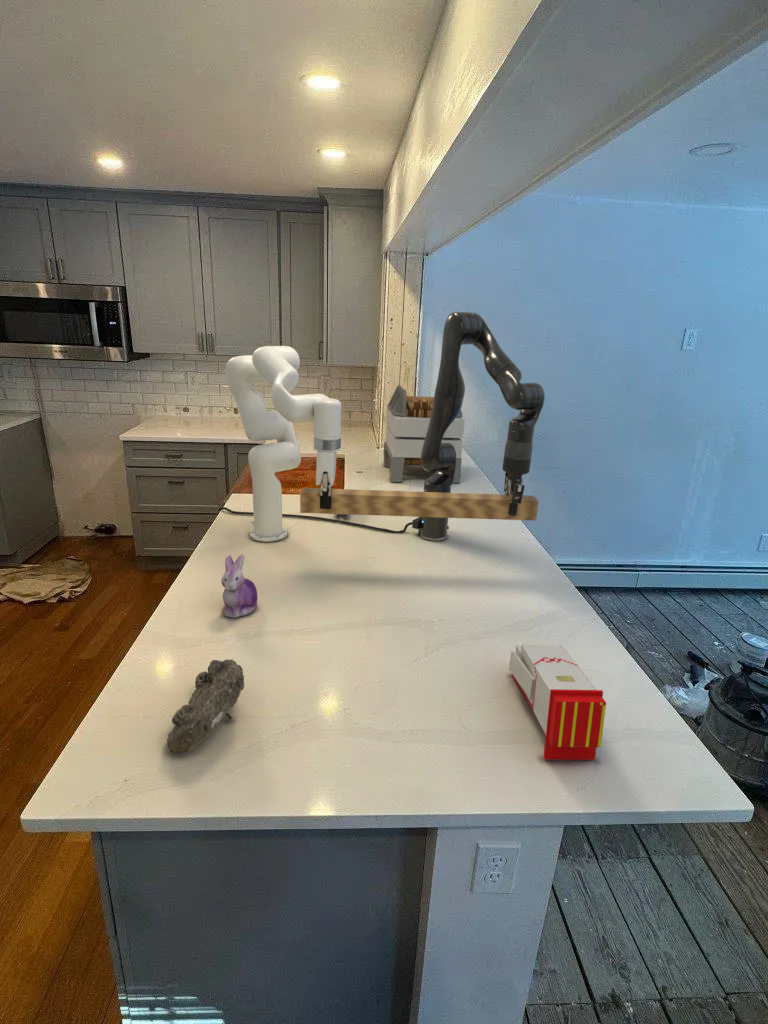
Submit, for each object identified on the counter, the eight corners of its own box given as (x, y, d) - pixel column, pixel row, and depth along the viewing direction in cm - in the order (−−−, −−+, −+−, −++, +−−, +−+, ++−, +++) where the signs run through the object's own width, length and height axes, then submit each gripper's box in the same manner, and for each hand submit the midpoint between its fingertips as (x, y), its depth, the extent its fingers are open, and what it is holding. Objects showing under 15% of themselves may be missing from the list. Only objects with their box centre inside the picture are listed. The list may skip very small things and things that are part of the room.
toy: (558, 627, 126) (616, 698, 97) (552, 682, 129) (607, 767, 99) (504, 626, 126) (545, 697, 96) (499, 681, 128) (538, 766, 99)
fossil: (192, 660, 117) (244, 628, 112) (224, 691, 120) (276, 661, 115) (142, 746, 98) (202, 712, 93) (182, 779, 101) (242, 748, 96)
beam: (531, 514, 168) (534, 495, 166) (536, 520, 164) (538, 501, 162) (302, 507, 167) (302, 487, 165) (300, 512, 162) (300, 492, 160)
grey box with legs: (382, 463, 289) (386, 382, 275) (445, 464, 293) (451, 384, 279) (390, 482, 257) (394, 392, 243) (460, 483, 261) (468, 394, 247)
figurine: (226, 622, 140) (223, 567, 134) (217, 603, 148) (214, 551, 143) (264, 615, 144) (262, 561, 139) (253, 597, 152) (251, 545, 147)
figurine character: (350, 524, 210) (352, 506, 224) (350, 505, 207) (352, 488, 220) (332, 523, 210) (335, 505, 224) (332, 505, 207) (335, 488, 220)
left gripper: (316, 436, 166) (316, 495, 172) (310, 450, 150) (310, 515, 156) (342, 437, 166) (341, 496, 172) (338, 451, 150) (337, 516, 156)
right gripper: (499, 448, 166) (492, 503, 172) (510, 461, 153) (502, 520, 159) (524, 449, 166) (517, 504, 172) (537, 462, 153) (529, 521, 159)
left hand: (326, 504), depth 164 cm, fingers closed on beam, 4 cm apart
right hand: (510, 511), depth 165 cm, fingers closed on beam, 5 cm apart
